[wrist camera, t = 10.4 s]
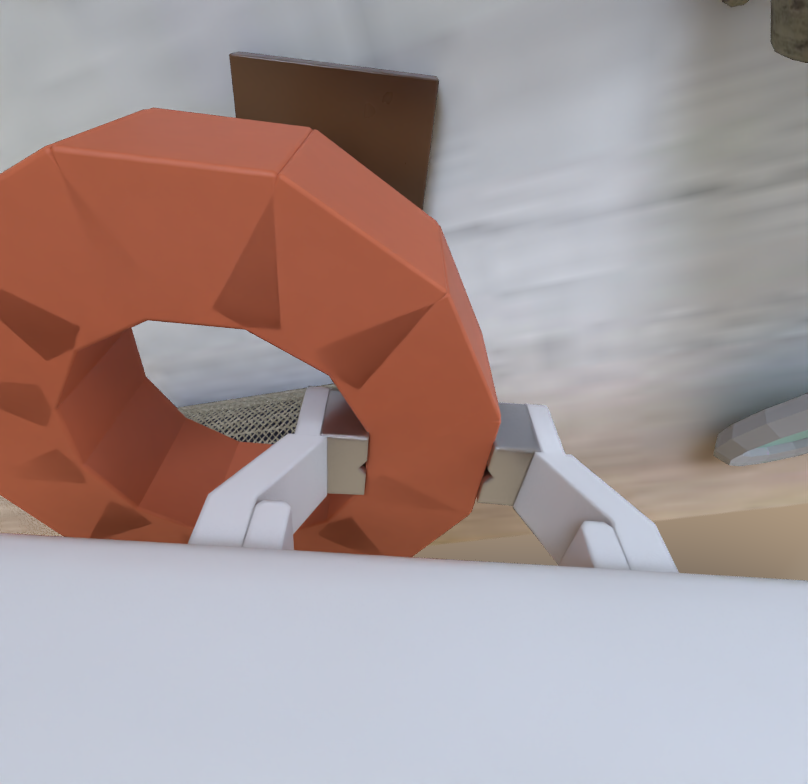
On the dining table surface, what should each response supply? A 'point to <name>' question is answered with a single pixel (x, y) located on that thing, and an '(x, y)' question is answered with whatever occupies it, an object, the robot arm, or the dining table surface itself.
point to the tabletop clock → (787, 27)
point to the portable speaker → (252, 415)
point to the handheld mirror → (766, 435)
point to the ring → (231, 308)
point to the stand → (346, 111)
